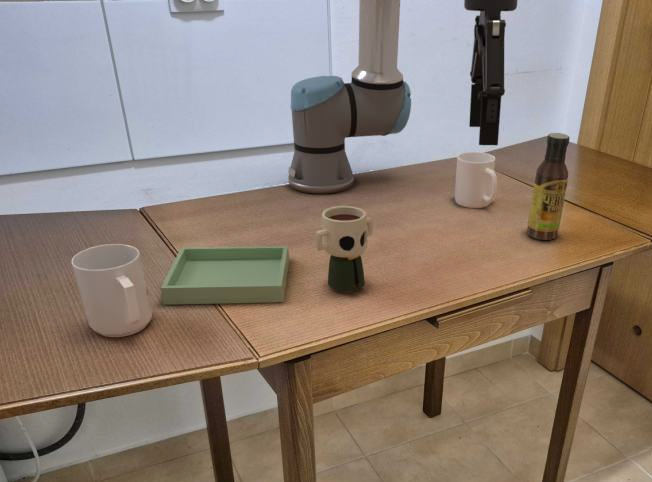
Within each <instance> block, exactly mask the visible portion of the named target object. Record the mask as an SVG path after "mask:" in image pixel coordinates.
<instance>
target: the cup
mask: <svg viewBox="0 0 652 482" xmlns="http://www.w3.org/2000/svg"><path fill="white" fill-rule="evenodd" d="M495 167H496V156H494V155H492V154H491V153H486V152H481V151H467V152H462V153H459V154H458V155H457V156H456V167H455V168H456V169H455V185H454V202H455V203H456V204H457V205H458V206H460V207H463V208H468V209H481V208H486V207H488V206H489V205H490V204H491V203H492V202H494V201H495V199H496V197H497V194H498V193H497V191H498V177H497V174H496V172H495Z"/></svg>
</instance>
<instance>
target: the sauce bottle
mask: <svg viewBox="0 0 652 482" xmlns="http://www.w3.org/2000/svg"><path fill="white" fill-rule="evenodd" d="M570 138H571V136H570V135H568V134H565V133H562V132H551V133H548V134H547V139H546V150H545V155H544V159H543V161H542V162H541V163H540V165H539V166H538V167H537V168H536V173H535V179H534V181H533V188H532V195H531V201H530V208H529V215H528V219H527V229H526V233H527V235H528V236H529V237H531V238H533V239H536V240H540V241H550V240H553V239H556V238H557V237H558V231H559V229H560V225H561V219H562V213H563V209H564V203H565V197H566V193H567V188H568V181H569V179H568V178H569V170H568V167H567V165H566V163H565V162H566V154H567V149H568V145H569V144H570Z"/></svg>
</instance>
